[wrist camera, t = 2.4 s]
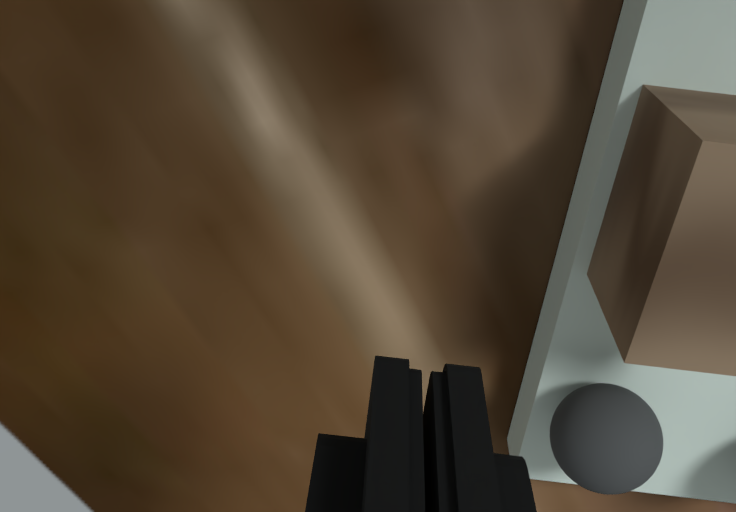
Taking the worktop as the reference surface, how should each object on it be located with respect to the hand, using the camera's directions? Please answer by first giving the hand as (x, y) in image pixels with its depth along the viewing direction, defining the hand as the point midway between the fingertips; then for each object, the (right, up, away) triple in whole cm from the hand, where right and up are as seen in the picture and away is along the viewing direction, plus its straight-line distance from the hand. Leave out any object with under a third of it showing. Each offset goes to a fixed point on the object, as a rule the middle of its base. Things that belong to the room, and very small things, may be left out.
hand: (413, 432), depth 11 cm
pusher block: (+8, +5, +9) cm, 13 cm away
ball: (+7, -3, +11) cm, 14 cm away
